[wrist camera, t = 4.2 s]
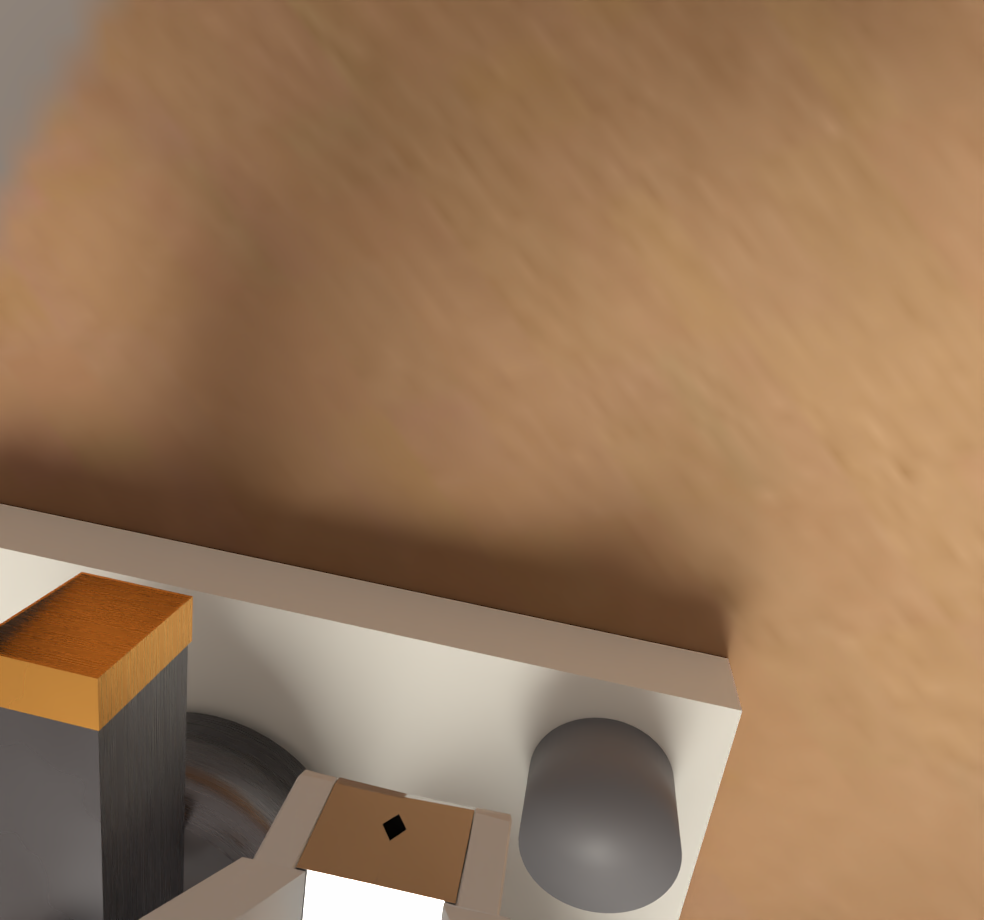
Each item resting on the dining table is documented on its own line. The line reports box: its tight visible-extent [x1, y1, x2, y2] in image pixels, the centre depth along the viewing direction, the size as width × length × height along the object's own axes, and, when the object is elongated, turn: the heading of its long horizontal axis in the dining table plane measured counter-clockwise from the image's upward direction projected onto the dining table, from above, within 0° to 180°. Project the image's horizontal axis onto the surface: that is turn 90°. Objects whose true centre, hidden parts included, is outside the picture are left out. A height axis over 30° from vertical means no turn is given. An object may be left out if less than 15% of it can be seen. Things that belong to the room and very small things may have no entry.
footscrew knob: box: [0, 572, 307, 920], centre depth 14 cm, size 12×7×7 cm, turn 172°
